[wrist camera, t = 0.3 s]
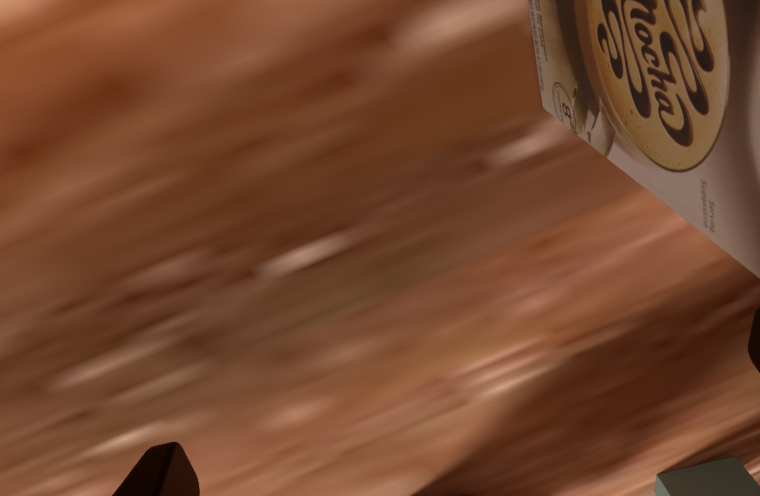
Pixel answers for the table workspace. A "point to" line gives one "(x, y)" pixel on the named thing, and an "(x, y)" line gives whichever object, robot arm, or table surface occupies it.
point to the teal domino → (708, 480)
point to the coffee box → (665, 101)
